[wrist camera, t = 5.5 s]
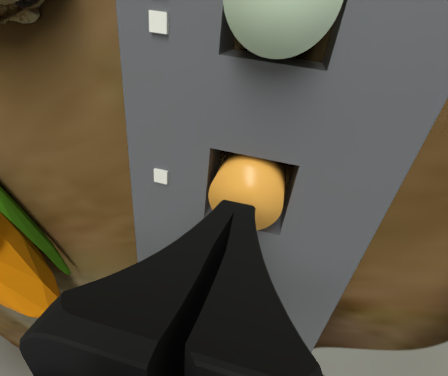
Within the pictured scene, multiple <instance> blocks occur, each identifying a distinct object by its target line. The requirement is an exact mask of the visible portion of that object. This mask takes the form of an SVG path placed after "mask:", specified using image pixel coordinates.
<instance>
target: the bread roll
mask: <svg viewBox="0 0 448 376" xmlns="http://www.w3.org/2000/svg"><path fill="white" fill-rule="evenodd" d="M43 2H44V0H0V24H5V25H6V24H7V21H8V20H10V21H16V22H19V23H25V24H27V23H33V22H35V21H36V20H37V19H38V17H39V16H40V14H39V11H38V10H39V8H40V5H41V4H42V3H43Z"/></svg>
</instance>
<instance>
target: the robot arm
mask: <svg viewBox="0 0 448 376" xmlns="http://www.w3.org/2000/svg"><path fill="white" fill-rule="evenodd" d="M255 210H256V208H255V207H254V206H252V205H248V204H243V203H238V202H233V201H229V200H222V201H221V202H220V203H219V204H218V205H217V206H216V207H215V208H214V209H213V210H212V211H211V212H210V213H209V214H208V215H207V216H206V217H204V218H203V219H202V220H201V221H200V222H199V223H198V224H196V225H195V226H194V227H193V228H192V229H190V230H189V231H188V232H186V233H185V234H184V235H182V236H181V237H180V238H178V239H177V240H175V241H174V242H173V243H171V244H169V245H168V246H166V247H165V248H163V249H162V250H160V251H158V252H157V253H155V254H153V255H151V256H149V257H148V258H146V259H144V260H142V261H140V262H138V263H136V264H134V265H132V266H130V267H128V268H126V269H123V270H121V271H119V272H117V273H114V274H112V275H109V276H107V277H104V278H102V279H99V280H96V281H93V282H91V283H88V284H85V285H82V286H79V287H76V288H73V289H70V290H67V291H64V292H63V293H62V294H61V295H60V296H59V297H58V298H57V299H56V300H55V301H53V302H52V303H51V304H50V306H49V307H48V308H47V309H46V310H45V311H44V312H43V314H42V315H41V316H40V317H39V318H38V319H37V320H36V321H35V323H34V324H33V325H32V326H31V327H30V328H29V329H28V331H27V332H26V333H25V334H24V335H23V336H22V337H21V339H20V351H21V353H22V356H23V358H24V360H25V361H26V363H27V365H28V366H29V368H30V370H31V372H32V373H33V375H34V376H323V375H322V371H321V368H320V365H319V364H318V362H317V361H316V359H315V358H314V356H313V355H312V354H311V352H310V351H309V349H308V347H307V346H306V344H305V343H304V341H303V340H302V338H301V336H300V335H299V333H298V331H297V330H296V328H295V326H294V325H293V323H292V321H291V320H290V318H289V316H288V314H287V312H286V310H285V308H284V306H283V304H282V302H281V300H280V298H279V296H278V294H277V292H276V290H275V288H274V285H273V283H272V281H271V278H270V276H269V273H268V271H267V268H266V265H265V262H264V259H263V255H262V252H261V248H260V245H259V240H258V235H257V230H256V223H255Z"/></svg>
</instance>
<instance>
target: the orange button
mask: <svg viewBox="0 0 448 376" xmlns="http://www.w3.org/2000/svg"><path fill="white" fill-rule="evenodd" d="M285 181H286V171H285V167H284V165H283V163H282V162H277V161H272V160H267V159H262V158H257V157H252V156H247V155H242V154H237V153H232V152H230V153H229V154H228V155H227V157H226V158H225V160H224V162H223V163H222V165H221V167H220V169H219V171H218V172H217V174H216V176H215V178H214V180H213V181H212V183H211V185H210V188H209V193H208V198H209V203H210V206H211V208H212V210H213V209H214V208H215V207H216V206H217V205H218V204H219V203H220V202H221V201H222V200H229V201H233V202H238V203H243V204H248V205H252V206H254V207H255V208H256V210H255V223H256V230H261V229H264V228H267V227H268V226H270V225H272V224H273V223H274V222H275V221H276V220H277V219H278V218H279V216H280V214H281V212H282V209H283V202H284V191H285Z"/></svg>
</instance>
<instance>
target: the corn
mask: <svg viewBox="0 0 448 376" xmlns="http://www.w3.org/2000/svg"><path fill="white" fill-rule="evenodd" d="M30 240H31V241H32V242H33V243H34V244H35V245H36V246H37V247H38V248H40V249H41V250H42V251H43V252H44V253H45V254H46V255H47V256H48V258H49V259H50V260H51V261H52V262H53V263H54V264H55V265H56V266H57V267H58V268H59V269H60V270H61V271H62V272H64V273H65V274H68V275H69V274H71V272H70V270H69V268H68V267H67V265H66V264H65V262H64V260H63V259H62V257H61V256H60V254H59V253H58V251H57V250H56V248H55V246H54V245H53V243H52V242H51V241H50V239H49V238H48V237H47V236H46V235H45V234H44V233H43V231H42V230H41V229H40V228H39V227H38V226H37V225H36V224H35V222H34V221H33V220H32V219H31V218H30V217H29V216H28V215H27V214H26V213H25V211H24V210H23V209H22V208H21V207H20V206H19V205H18V204H17V203H16V202H15V201H14V200H13V199H12V198H11V197H10V196H9V195H8V193H7V192H6V191H5V190H4V189H3V188H2V187H1V186H0V304H1V305H3V306H5V307H8V308H10V309H12V310H15V311H17V312H19V313H22V314H24V315H26V316H29V317H34V318H39V317H40V316H41V315H42V314H43V312H44V311H45V310H46V309H47V308H48V307H49V306H50V304H51V303H52V302H53V301H55V300H56V299H57V298H58V297H59V296H60V295H61V294H60V291H59V288H58V286H57V283H56V280H55V277H54V275H53V273H52V271H51V270H50V268H49V266H48V265H47V263H46V261H45V260H44V258H43V256H42V255H41V253H40V252H39V250H38V248H37V247H36V246H35V245H34V244H33V243H32V242H31V241H30Z"/></svg>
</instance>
